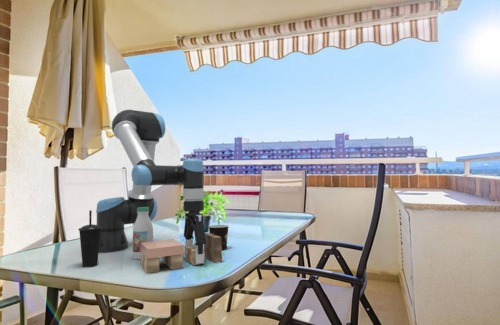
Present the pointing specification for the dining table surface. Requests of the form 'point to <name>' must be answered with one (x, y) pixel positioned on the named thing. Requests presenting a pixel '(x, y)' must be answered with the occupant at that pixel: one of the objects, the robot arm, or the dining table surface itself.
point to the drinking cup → (90, 243)
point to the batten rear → (149, 264)
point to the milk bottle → (141, 230)
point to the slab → (161, 248)
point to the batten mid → (174, 261)
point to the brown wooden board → (213, 247)
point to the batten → (192, 254)
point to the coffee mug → (220, 233)
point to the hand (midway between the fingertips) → (194, 259)
